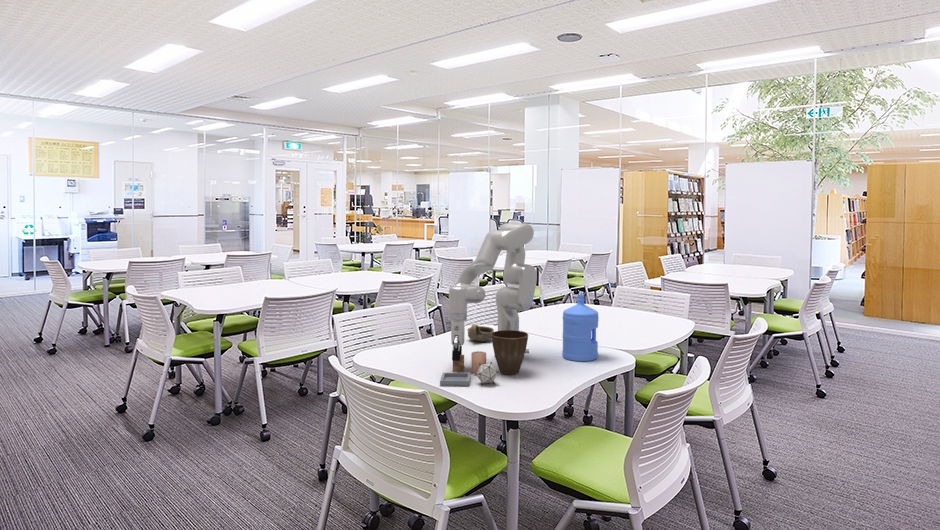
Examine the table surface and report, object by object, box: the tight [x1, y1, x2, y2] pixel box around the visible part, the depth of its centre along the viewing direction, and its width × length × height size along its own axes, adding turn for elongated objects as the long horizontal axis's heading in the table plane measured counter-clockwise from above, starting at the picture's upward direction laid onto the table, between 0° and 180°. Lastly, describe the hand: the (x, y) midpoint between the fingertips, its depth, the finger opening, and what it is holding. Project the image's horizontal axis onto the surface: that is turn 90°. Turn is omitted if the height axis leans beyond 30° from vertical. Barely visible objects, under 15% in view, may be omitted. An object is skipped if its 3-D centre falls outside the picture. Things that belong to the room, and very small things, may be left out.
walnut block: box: [452, 354, 465, 373], centre depth 232 cm, size 4×4×6 cm
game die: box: [474, 361, 500, 386], centre depth 213 cm, size 9×8×10 cm
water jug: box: [561, 294, 599, 362], centre depth 250 cm, size 16×16×28 cm
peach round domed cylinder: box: [470, 350, 487, 375], centre depth 228 cm, size 6×6×8 cm
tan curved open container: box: [466, 323, 495, 343], centre depth 283 cm, size 14×18×10 cm
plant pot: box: [491, 330, 529, 376], centre depth 227 cm, size 15×15×16 cm
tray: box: [439, 372, 472, 387], centre depth 216 cm, size 11×11×2 cm
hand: (456, 357), depth 231 cm, fingers open, 9 cm apart
